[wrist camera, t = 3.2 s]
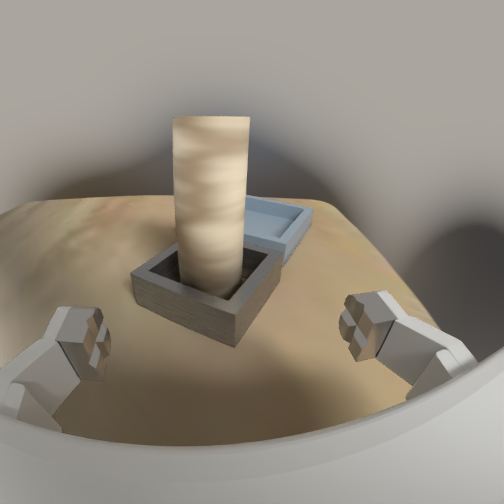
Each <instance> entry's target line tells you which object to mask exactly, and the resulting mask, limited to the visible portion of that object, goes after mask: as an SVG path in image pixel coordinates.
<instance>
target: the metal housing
mask: <svg viewBox="0 0 504 504" xmlns="http://www.w3.org/2000/svg"><path fill="white" fill-rule="evenodd" d="M283 253H284V252H282V251H278V250H274V249H270V248H266V247H262V246H258V245H254V244H251V243H247V242H243V262H242V276H243V277H246V278H248V279H247V280H246V281H245V282H244V284H243V285H242V286H241V287H240V288H239V289H238V291H237V292H236V293H235V294H234V295H233V296H232V298H231V299H230V300H229V301H228V300H225V299H222V298H219V297H216V296H213V295H211V294H208V293H205V292H202V291H200V290H197V289H194V288H191V287H189V286H186V285H183V284H181V283H178V282H177V281H179V280H180V272H179V261H178V249H177V242H176V243H174V244H173V245H171V246H170V247H168V248H167V249H165V250H164V251H162V252H161V253H159V254H158V255H156V256H155V257H153V258H152V259H150V260H149V261H147V262H146V263H144V264H143V265H141V266H140V267H138V268H137V269H136V270H134V271H133V272H131V273H130V274H131V279H132V284H133V288H134V293H135V297H136V301H137V304H139V305H140V306H142V307H144V308H146V309H149V310H151V311H153V312H155V313H157V314H159V315H161V316H163V317H165V318H167V319H169V320H172V321H174V322H176V323H178V324H180V325H182V326H185V327H187V328H189V329H191V330H194V331H196V332H198V333H201V334H203V335H205V336H208V337H210V338H213V339H215V340H217V341H220V342H222V343H225V344H227V345H230V346H232V347H235V346H236V345H237V344H238V342H239V341H240V339H241V338H242V336H243V335H244V333H245V332H246V331H247V329H248V328H249V326H250V325H251V323H252V322H253V320H254V319H255V317H256V316H257V314H258V313H259V311H260V310H261V308H262V307H263V305H264V304H265V302H266V301H267V299H268V298H269V296H270V295H271V293H272V292H273V290H274V289H275V287H276V286H277V284H278V283H279V281H280V276H281V268H282V261H283Z"/></svg>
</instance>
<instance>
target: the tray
mask: <svg viewBox="0 0 504 504" xmlns="http://www.w3.org/2000/svg"><path fill="white" fill-rule="evenodd" d="M313 209H314V208H309V207H304V206H300V205H295V204H290V203H285V202H281V201H276V200H270V199H265V198H260V197H255V196H249V195H246V199H245V219H244V240H243V242H247V243H251V244H254V245H258V246H262V247H266V248H270V249H274V250H278V251H282V252H284V253H283V261H282V266H283V267H284V265H285V264H286V262H287V261H288V259H289V258H290V256H291V255H292V253H293V252H294V250H295V249H296V247H297V246H298V244H299V243H300V241H301V240H302V238H303V237H304V235H305V234H306V232H307V231H308V229H309V228H310V226H311V222H312V215H313Z"/></svg>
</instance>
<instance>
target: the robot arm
mask: <svg viewBox="0 0 504 504" xmlns="http://www.w3.org/2000/svg"><path fill="white" fill-rule="evenodd" d="M344 305H345V307H346V309H345V310H344V311H343V312H342V313H341V315H340V319H339V330H340V334H341V336H342V338H343V339H344V340H345V341H347V342H349V343H350V344H349V348H348V349H349V350H350V352H351V354H352V356H353V358H354V359H355V361H356V362H359V361H363V360H368V359H372V358H376V359H377V360H378V361H379V362H381V363H382V364H383V365H385V366H386V367H387V368H389V369H390V370H391V371H393V372H394V373H396V374H397V375H398V376H400V377H401V378H402V379H404V380H405V381H406V382H408V383H409V384H410V385H412V388H411V389H410V390H409V392H408V393H407V394H406V397H405V398H406V400H407V401H405V402H402V403H400V404H397V405H395V406H392V407H390V408H387V409H385V410H382V411H379V412H376V413H374V414H371V415H368V416H365V417H362V418H359V419H355V420H352V421H349V422H346V423H342V424H339V425H335V426H331V427H328V428H324V429H320V430H315V431H311V432H307V433H302V434H297V435H292V436H287V437H282V438H276V439H269V440H263V441H255V442H247V443H238V444H226V445H211V446H152V445H137V444H126V443H117V442H109V441H102V440H96V439H90V438H84V437H79V436H74V435H70V434H65V433H62V428H61V426H60V425H59V424H58V423H57V422H56V421H55V420H54V419H53V418H52V415H53V414H54V413H55V412H56V410H57V409H58V408H59V407H60V405H61V404H62V403H63V402H64V401H65V399H66V398H67V397H68V396H69V395H70V393H71V392H72V391H73V390H74V389H75V387H76V386H77V385H78V384H79V383H80V382H81V380H90V381H103V379H104V374H105V370H106V366H107V365H106V363H105V361H104V359H105V358H106V357H107V356H108V355H109V353H110V348H111V339H110V334H109V331H108V328H107V327H106V326H105V325H104V324H103V323H102V321H103V318H104V317H103V315H102V312H101V310H100V309H99V308H91V307H68V306H60V307H58V308H57V309H56V311H55V313H54V315H53V317H52V319H51V321H50V323H49V325H48V327H47V329H46V331H45V333H44V335H43V337H42V340H39V339H38V340H37V341H35V342H34V343H33V344H31V345H30V346H29V347H27V348H26V349H25V350H24V351H22V352H21V353H20V354H18V355H17V356H16V357H15V358H13V359H12V360H11V361H10V362H8V363H7V364H6V365H5V366H4V367H2V368H1V369H0V504H504V347H503V348H501V349H500V350H498V351H497V352H495V353H494V354H492V355H491V356H489V357H488V358H486V359H485V360H483V361H482V362H480V363H478V362H477V361H476V359H475V358H474V357H473V356H472V354H471V353H470V352H469V350H468V349H467V348H466V347H465V345H464V344H463V343H462V342H461V341H460V340H458V339H456V338H454V337H452V336H450V335H448V334H446V333H444V332H442V331H440V330H438V329H436V328H434V327H432V326H430V325H428V324H426V323H424V322H422V321H420V320H419V319H417V318H415V317H412V316H411V317H409V316H408V315H407V314H406V313H405V311H404V310H403V309H402V308H401V307H400V305H399V304H398V303H397V302H396V301H395V300H394V298H393V297H392V296H391V295H390V294H389V293H388V291H386V290H379V291H373V292H367V293H360V294H352V295H348V296H347V298H346V300H345V303H344Z"/></svg>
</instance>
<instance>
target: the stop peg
mask: <svg viewBox="0 0 504 504" xmlns="http://www.w3.org/2000/svg"><path fill="white" fill-rule="evenodd" d="M249 125H250V117H241V116H183V117H173V176H174V203H175V222H176V236H177V249H178V261H179V272H180V281H181V284H183V285H186V286H189V287H191V288H194V289H197V290H200V291H202V292H205V293H208V294H211V295H213V296H216V297H219V298H222V299H225V300H228V301H229V300H230V299H231V298H232V296H233V295H234V294H235V293H236V292H237V291H238V289H239V288H240V287H241V285H242V262H243V240H244V219H245V199H246V180H247V160H248V143H249Z"/></svg>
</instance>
